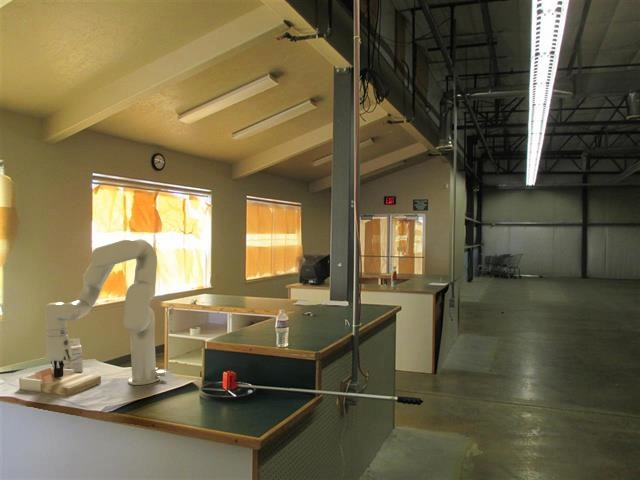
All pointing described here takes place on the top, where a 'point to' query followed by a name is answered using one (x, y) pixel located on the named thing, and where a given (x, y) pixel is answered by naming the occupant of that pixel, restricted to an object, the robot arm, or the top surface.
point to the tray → (37, 381)
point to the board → (70, 384)
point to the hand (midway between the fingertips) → (58, 376)
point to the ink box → (75, 356)
